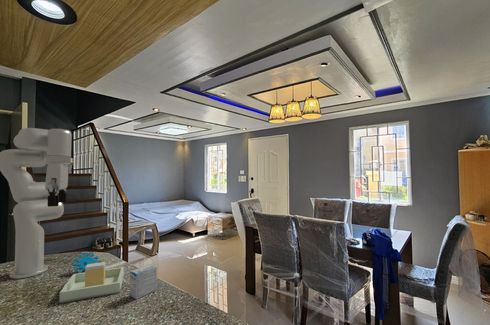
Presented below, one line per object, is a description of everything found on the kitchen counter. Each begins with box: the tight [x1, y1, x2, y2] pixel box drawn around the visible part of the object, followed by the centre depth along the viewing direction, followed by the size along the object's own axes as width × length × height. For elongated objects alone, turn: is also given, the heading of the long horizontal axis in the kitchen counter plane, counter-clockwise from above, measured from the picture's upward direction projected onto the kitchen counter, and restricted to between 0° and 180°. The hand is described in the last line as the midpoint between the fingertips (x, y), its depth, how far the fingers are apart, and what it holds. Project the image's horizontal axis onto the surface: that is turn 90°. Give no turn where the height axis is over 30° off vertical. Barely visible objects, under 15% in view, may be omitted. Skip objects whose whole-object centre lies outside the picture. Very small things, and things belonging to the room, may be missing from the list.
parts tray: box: [59, 266, 125, 304], centre depth 91 cm, size 16×18×4 cm
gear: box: [72, 252, 103, 274], centre depth 107 cm, size 11×6×10 cm
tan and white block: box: [84, 261, 106, 287], centre depth 91 cm, size 4×6×8 cm, turn 112°
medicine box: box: [129, 264, 158, 300], centre depth 86 cm, size 8×4×9 cm, turn 145°
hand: (57, 204), depth 94 cm, fingers open, 9 cm apart
